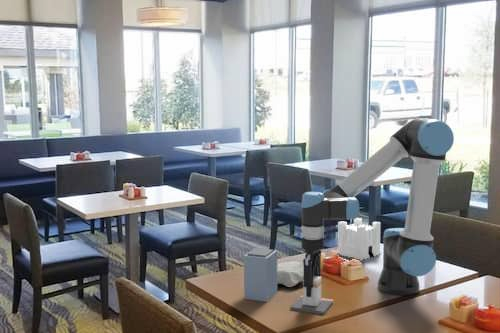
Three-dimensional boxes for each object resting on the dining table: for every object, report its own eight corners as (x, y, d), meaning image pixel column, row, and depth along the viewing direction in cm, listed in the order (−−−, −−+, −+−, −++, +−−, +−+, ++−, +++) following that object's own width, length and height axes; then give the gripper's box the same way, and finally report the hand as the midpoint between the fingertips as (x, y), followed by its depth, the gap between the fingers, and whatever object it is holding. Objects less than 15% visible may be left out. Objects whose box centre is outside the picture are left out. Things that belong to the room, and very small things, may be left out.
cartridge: (321, 301, 203) (321, 276, 202) (317, 306, 198) (317, 281, 197) (307, 299, 205) (307, 274, 204) (302, 304, 200) (302, 279, 199)
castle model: (356, 248, 274) (357, 217, 272) (381, 254, 264) (381, 222, 262) (336, 254, 265) (336, 222, 263) (361, 260, 254) (361, 227, 253)
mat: (333, 302, 205) (333, 299, 205) (324, 314, 194) (324, 311, 194) (301, 298, 210) (301, 295, 210) (290, 309, 199) (290, 306, 199)
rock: (248, 265, 232) (307, 251, 238) (251, 281, 234) (309, 268, 240) (262, 281, 214) (325, 267, 220) (264, 299, 216) (326, 284, 221)
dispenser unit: (277, 292, 215) (277, 249, 213) (267, 301, 206) (267, 256, 204) (253, 289, 219) (252, 246, 217) (242, 298, 210) (242, 253, 208)
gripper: (309, 230, 208) (309, 292, 211) (293, 242, 192) (293, 309, 195) (330, 232, 205) (329, 294, 209) (315, 244, 189) (314, 313, 192)
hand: (312, 302), depth 202 cm, fingers closed on cartridge, 5 cm apart
